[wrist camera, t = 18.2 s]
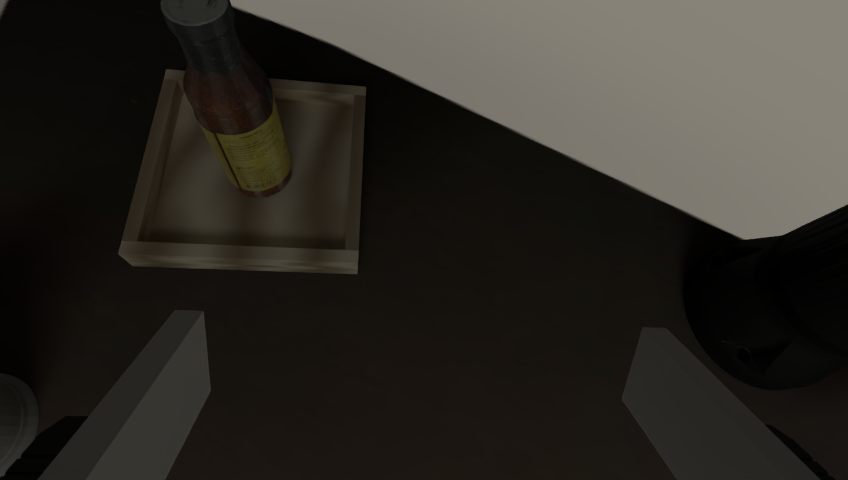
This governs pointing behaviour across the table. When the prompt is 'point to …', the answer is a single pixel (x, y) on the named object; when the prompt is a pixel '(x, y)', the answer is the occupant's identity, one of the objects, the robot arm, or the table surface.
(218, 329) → the table surface
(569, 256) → the table surface
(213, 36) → the sauce bottle
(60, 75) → the table surface
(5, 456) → the glass holder
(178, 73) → the birch tray
